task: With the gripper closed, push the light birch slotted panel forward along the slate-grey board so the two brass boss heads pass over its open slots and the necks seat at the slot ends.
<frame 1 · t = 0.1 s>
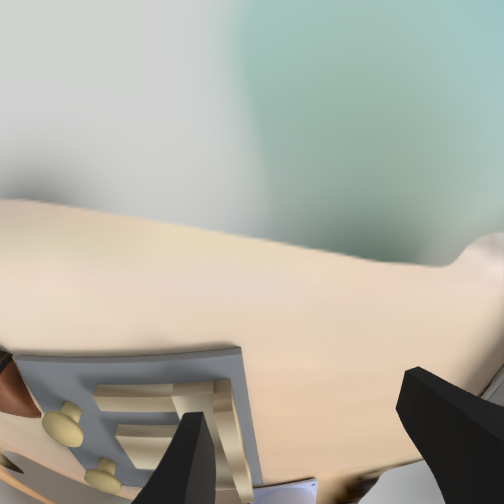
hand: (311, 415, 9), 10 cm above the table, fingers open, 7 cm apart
panel: (183, 442, 21), point 1 cm above the table, touching keyhole board
keyhole board: (146, 436, 21), on the table
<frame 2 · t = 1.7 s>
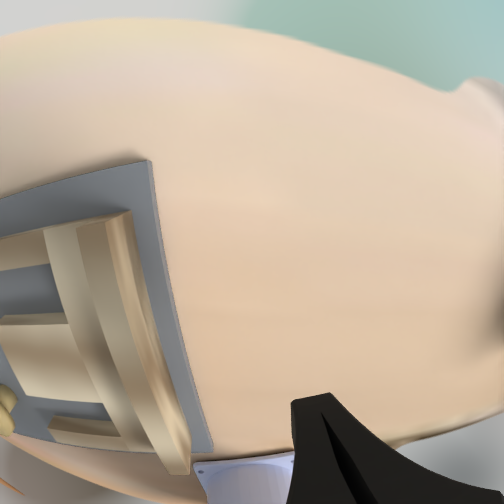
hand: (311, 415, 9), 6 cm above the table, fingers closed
panel: (79, 352, 14), point 1 cm above the table, touching keyhole board
keyhole board: (41, 345, 14), on the table
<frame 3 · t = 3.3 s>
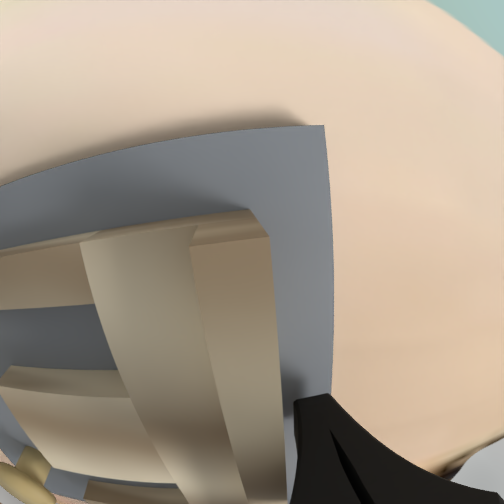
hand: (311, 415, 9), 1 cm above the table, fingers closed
panel: (135, 420, 9), point 1 cm above the table, touching gripper
keyhole board: (90, 405, 10), on the table
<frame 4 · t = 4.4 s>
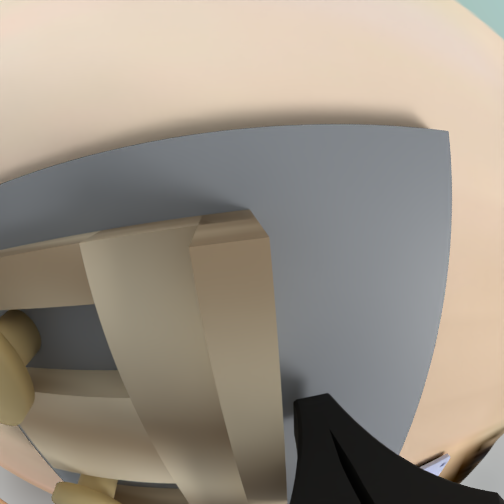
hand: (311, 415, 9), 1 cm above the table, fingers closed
panel: (135, 420, 9), point 1 cm above the table, touching gripper, keyhole board
keyhole board: (191, 404, 10), on the table
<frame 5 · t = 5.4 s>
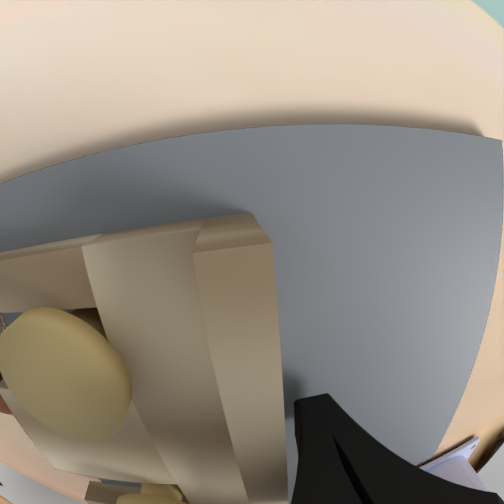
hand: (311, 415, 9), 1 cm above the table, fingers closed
panel: (137, 422, 9), point 1 cm above the table, touching gripper, keyhole board
keyhole board: (277, 394, 10), on the table
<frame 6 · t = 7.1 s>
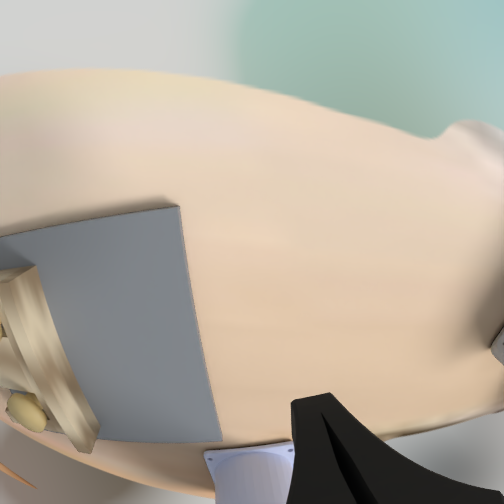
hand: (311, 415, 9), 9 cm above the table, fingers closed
panel: (20, 356, 17), point 1 cm above the table, touching keyhole board
keyhole board: (75, 351, 18), on the table
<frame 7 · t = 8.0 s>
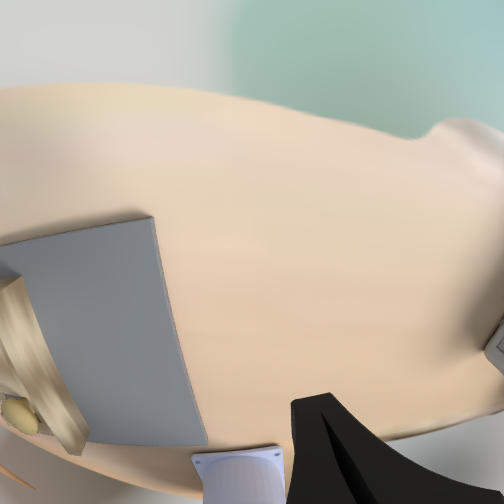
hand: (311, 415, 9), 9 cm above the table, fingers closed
panel: (12, 362, 17), point 1 cm above the table, touching keyhole board
keyhole board: (63, 358, 18), on the table
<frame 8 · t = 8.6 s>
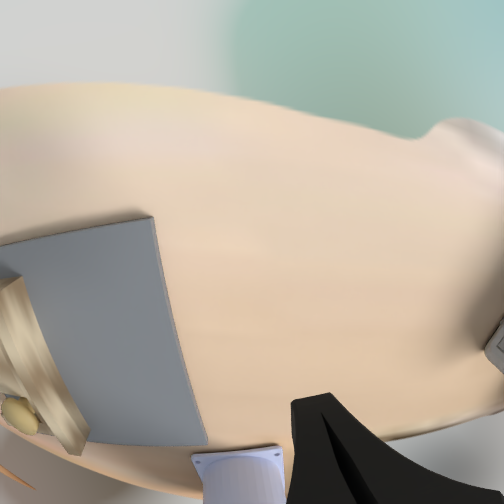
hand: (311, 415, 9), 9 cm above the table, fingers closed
panel: (12, 362, 17), point 1 cm above the table, touching keyhole board
keyhole board: (63, 358, 18), on the table
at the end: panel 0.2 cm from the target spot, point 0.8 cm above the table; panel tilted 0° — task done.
